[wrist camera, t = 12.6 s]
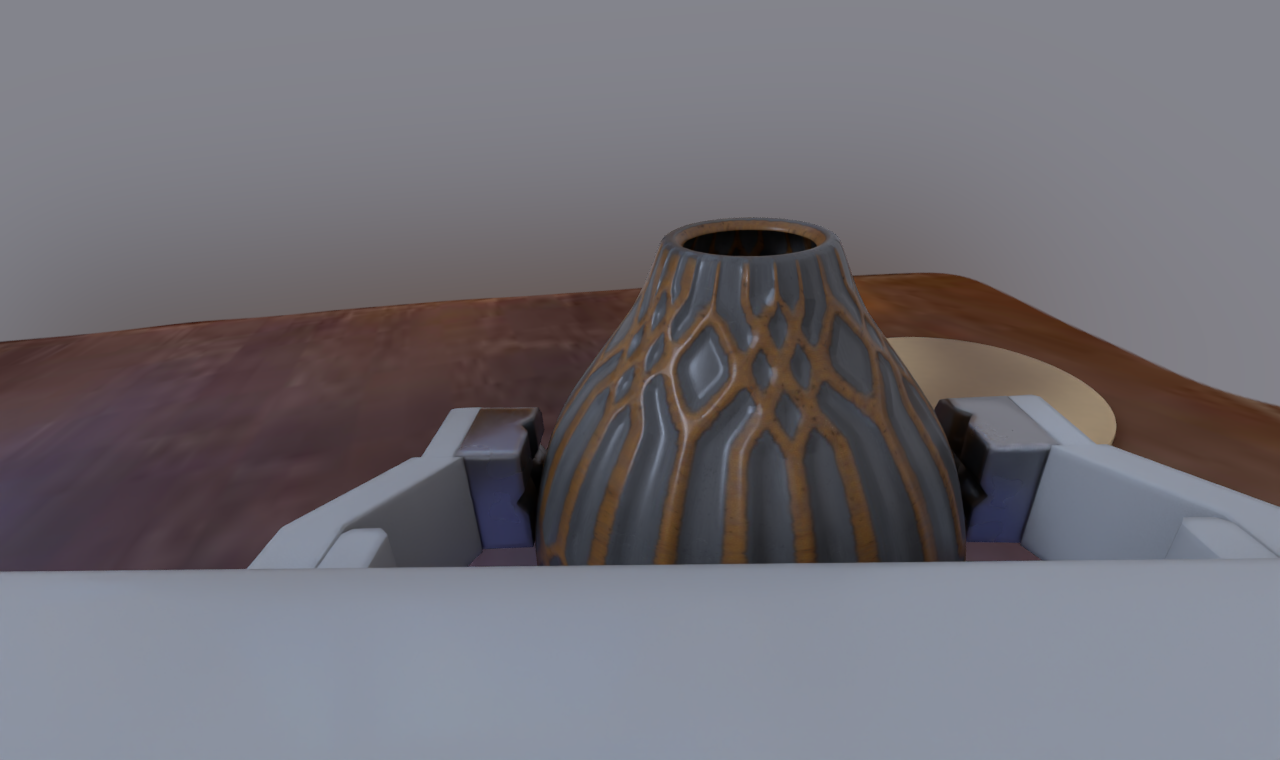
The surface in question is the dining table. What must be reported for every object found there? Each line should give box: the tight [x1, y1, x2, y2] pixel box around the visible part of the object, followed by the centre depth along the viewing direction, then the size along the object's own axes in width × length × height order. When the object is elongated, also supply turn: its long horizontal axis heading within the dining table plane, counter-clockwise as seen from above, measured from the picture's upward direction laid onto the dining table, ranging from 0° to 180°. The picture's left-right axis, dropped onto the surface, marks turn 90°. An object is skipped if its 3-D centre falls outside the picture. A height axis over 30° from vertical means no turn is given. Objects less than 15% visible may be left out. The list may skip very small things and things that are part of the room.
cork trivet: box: [886, 337, 1117, 446], centre depth 25 cm, size 11×11×1 cm
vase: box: [535, 218, 966, 566], centre depth 10 cm, size 7×7×9 cm
